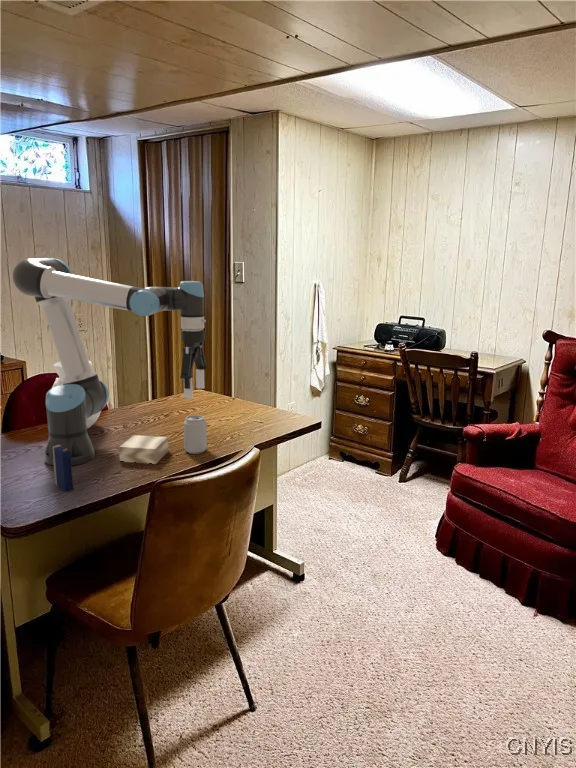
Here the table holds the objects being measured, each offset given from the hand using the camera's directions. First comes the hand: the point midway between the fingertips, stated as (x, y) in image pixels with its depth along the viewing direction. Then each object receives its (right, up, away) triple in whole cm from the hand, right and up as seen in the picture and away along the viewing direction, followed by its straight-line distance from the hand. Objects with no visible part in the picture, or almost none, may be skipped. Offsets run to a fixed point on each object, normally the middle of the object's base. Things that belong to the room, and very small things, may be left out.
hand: (194, 393), depth 189 cm
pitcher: (-49, -14, +29) cm, 59 cm away
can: (0, -20, +5) cm, 21 cm away
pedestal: (-16, -21, -1) cm, 27 cm away
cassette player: (-33, -27, -26) cm, 50 cm away
